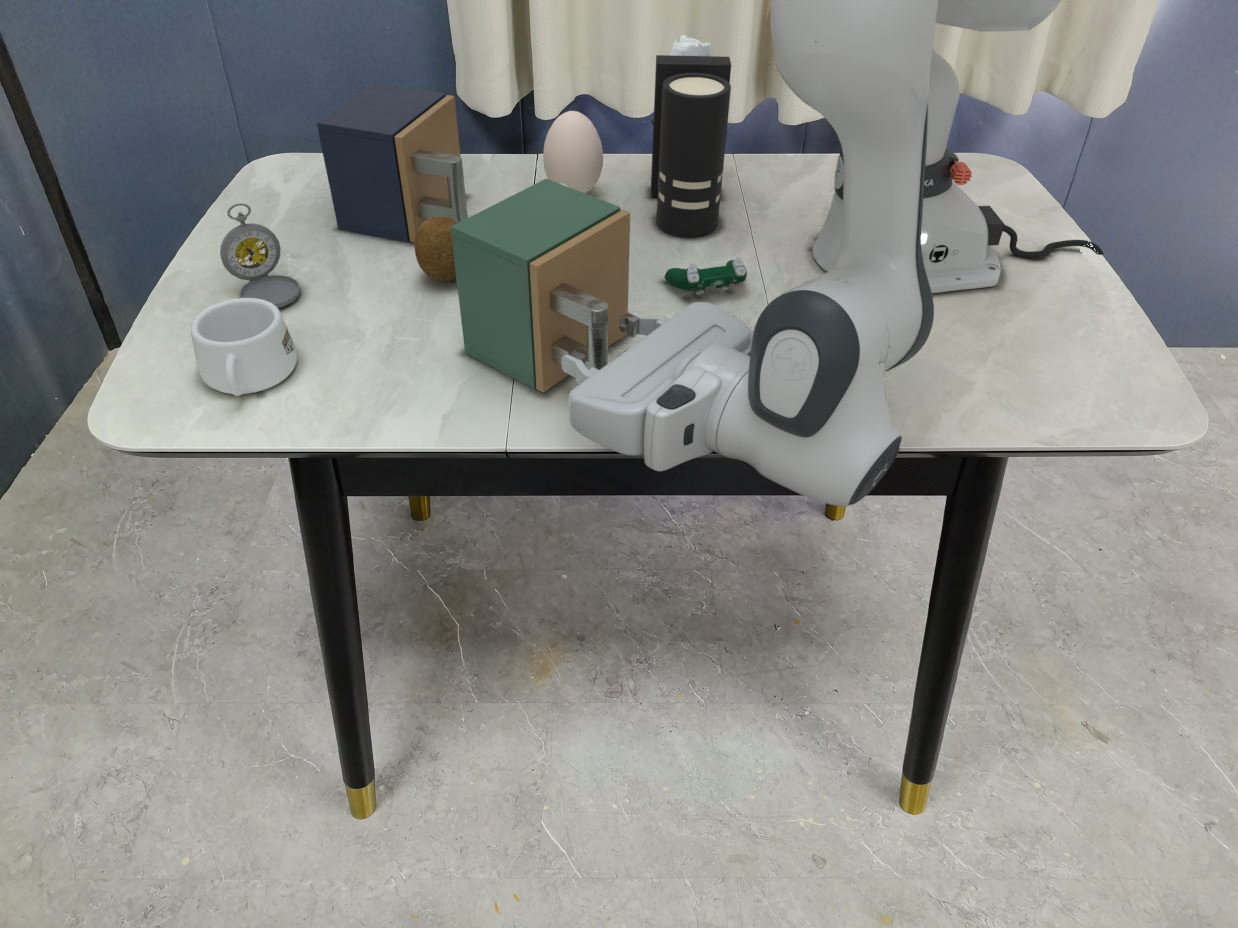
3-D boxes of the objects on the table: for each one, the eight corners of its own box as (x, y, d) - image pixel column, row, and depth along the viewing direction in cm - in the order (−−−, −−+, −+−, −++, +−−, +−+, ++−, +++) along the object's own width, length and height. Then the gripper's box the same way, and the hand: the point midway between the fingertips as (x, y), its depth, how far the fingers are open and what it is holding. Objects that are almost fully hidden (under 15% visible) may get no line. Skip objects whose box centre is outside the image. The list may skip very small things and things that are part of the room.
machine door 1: (505, 203, 124) (498, 102, 115) (460, 251, 114) (448, 145, 105) (458, 195, 126) (447, 94, 117) (409, 241, 116) (394, 136, 107)
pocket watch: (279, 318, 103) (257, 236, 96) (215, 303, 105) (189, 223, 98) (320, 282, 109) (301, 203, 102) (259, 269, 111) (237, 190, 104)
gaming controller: (667, 303, 110) (681, 291, 104) (661, 272, 110) (675, 258, 104) (739, 292, 112) (757, 280, 106) (734, 262, 112) (751, 248, 106)
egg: (597, 211, 123) (597, 126, 116) (539, 206, 124) (535, 121, 116) (607, 185, 129) (608, 103, 121) (551, 180, 130) (548, 98, 122)
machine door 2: (671, 354, 99) (679, 231, 89) (588, 417, 91) (587, 289, 81) (620, 330, 102) (622, 209, 92) (536, 389, 94) (529, 263, 84)
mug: (210, 345, 99) (194, 297, 95) (303, 339, 100) (291, 291, 96) (188, 416, 90) (169, 365, 86) (290, 408, 91) (276, 358, 87)
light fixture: (650, 237, 118) (656, 96, 106) (648, 188, 128) (654, 55, 116) (726, 238, 118) (741, 98, 106) (719, 190, 128) (731, 56, 116)
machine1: (456, 195, 126) (445, 93, 117) (408, 242, 116) (391, 135, 107) (391, 184, 128) (375, 83, 119) (338, 229, 118) (316, 122, 109)
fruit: (469, 293, 108) (462, 231, 102) (415, 293, 107) (405, 230, 102) (474, 266, 112) (468, 204, 107) (423, 265, 112) (414, 204, 107)
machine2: (618, 331, 102) (620, 207, 92) (534, 389, 94) (526, 260, 84) (550, 299, 107) (546, 178, 97) (464, 353, 99) (450, 226, 89)
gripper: (782, 316, 86) (662, 266, 92) (649, 425, 74) (521, 360, 80) (773, 371, 90) (659, 320, 96) (646, 483, 78) (525, 416, 84)
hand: (595, 339), depth 88 cm, fingers open, 7 cm apart
